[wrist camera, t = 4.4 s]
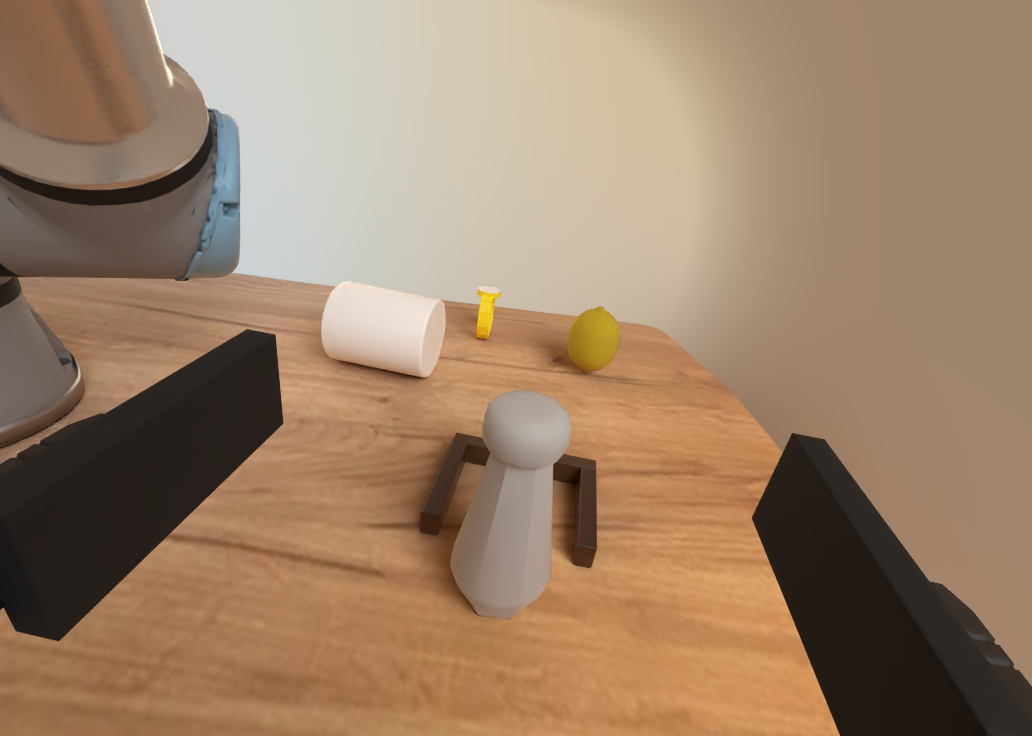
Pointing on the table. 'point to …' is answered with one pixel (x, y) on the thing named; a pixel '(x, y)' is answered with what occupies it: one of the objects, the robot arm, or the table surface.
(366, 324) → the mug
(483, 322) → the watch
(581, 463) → the walnut stop
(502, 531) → the salt shaker
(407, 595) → the table surface
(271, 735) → the table surface
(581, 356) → the lemon
